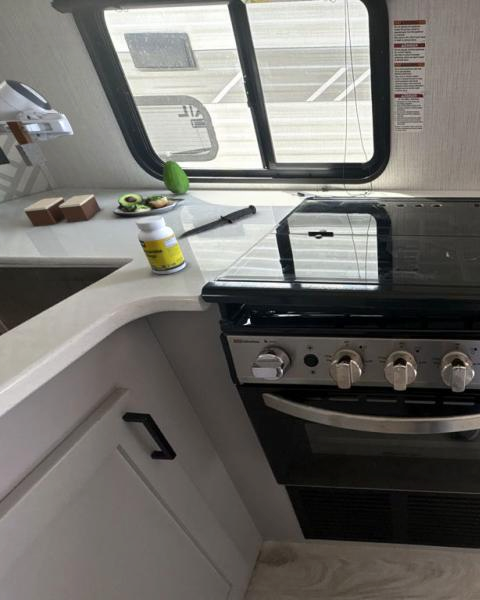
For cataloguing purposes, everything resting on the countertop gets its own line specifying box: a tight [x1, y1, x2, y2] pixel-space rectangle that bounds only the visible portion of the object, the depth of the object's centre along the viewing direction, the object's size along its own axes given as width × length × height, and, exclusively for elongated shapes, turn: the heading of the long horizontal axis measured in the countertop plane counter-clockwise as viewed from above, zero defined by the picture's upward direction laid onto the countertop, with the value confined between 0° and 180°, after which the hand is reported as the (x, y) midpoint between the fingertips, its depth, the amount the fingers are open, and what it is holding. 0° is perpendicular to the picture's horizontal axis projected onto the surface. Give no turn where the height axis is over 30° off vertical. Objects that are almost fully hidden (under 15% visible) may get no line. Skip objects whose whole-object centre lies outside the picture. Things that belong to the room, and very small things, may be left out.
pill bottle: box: [135, 215, 187, 275], centre depth 69 cm, size 6×6×11 cm
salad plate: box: [113, 192, 186, 219], centre depth 109 cm, size 19×18×5 cm
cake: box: [22, 193, 101, 227], centre depth 102 cm, size 12×13×5 cm
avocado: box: [162, 160, 190, 196], centre depth 123 cm, size 8×8×12 cm
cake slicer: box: [6, 121, 48, 167], centre depth 103 cm, size 10×2×12 cm, turn 23°
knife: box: [179, 204, 257, 239], centre depth 95 cm, size 24×5×3 cm, turn 143°
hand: (16, 128), depth 100 cm, fingers closed on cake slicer, 2 cm apart
